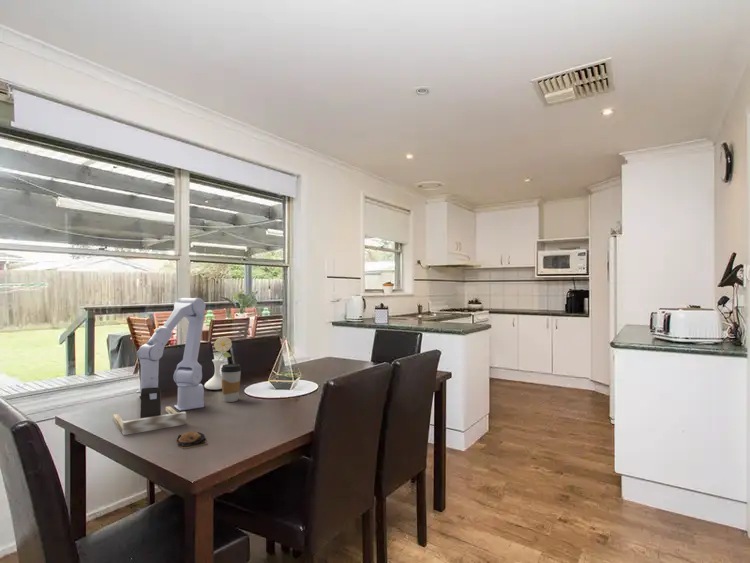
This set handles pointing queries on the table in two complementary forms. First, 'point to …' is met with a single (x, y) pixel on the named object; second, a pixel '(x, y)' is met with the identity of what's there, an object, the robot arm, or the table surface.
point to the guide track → (151, 422)
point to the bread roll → (191, 440)
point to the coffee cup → (230, 382)
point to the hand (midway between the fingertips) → (148, 415)
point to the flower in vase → (219, 363)
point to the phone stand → (150, 402)
